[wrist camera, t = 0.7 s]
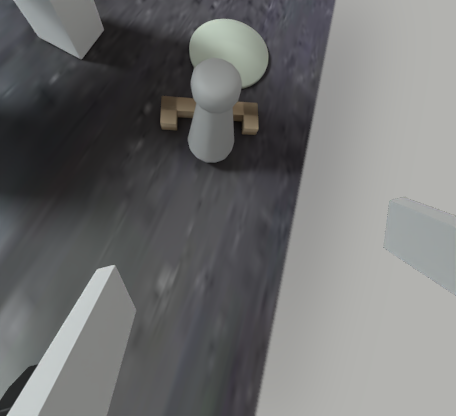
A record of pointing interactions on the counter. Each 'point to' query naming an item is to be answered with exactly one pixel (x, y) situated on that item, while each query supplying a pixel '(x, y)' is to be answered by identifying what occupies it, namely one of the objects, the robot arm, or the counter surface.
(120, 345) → the robot arm
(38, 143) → the counter surface
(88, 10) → the milk
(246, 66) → the disc
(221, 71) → the salt shaker
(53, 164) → the counter surface
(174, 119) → the oak holder
